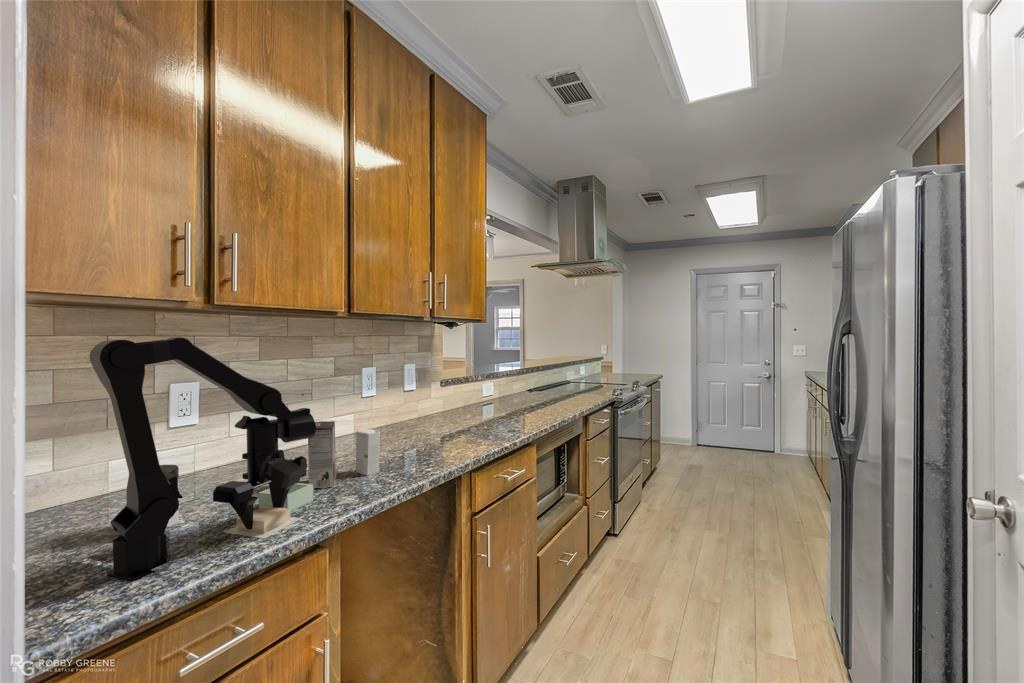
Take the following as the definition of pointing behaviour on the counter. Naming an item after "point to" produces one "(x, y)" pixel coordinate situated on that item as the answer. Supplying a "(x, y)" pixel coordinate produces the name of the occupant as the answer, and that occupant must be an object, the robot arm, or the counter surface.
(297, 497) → the sage green tray
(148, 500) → the robot arm
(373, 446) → the skincare box
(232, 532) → the mat
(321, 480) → the coffee box
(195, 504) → the counter surface
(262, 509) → the lid
